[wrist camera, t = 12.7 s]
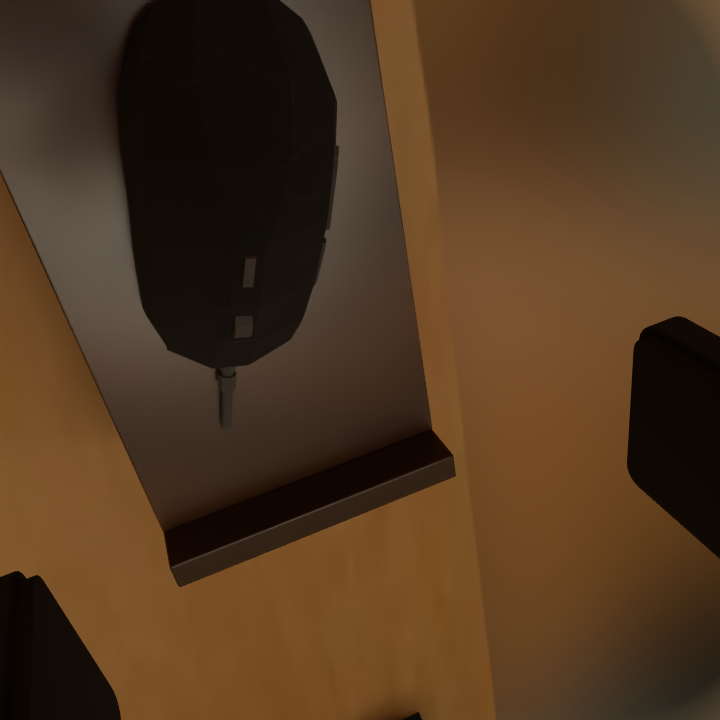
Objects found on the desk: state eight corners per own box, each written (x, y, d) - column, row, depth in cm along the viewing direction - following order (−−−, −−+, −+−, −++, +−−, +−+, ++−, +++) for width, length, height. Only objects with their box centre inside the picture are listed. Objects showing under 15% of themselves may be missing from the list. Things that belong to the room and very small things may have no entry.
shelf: (-93, -139, 23) (-197, -222, 14) (254, -193, 25) (359, -292, 16) (150, 435, 36) (179, 588, 26) (364, 360, 38) (456, 476, 29)
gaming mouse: (139, 434, 25) (150, 501, 22) (105, -31, 18) (113, -34, 15) (304, 413, 27) (337, 472, 24) (327, -8, 21) (377, -6, 17)
